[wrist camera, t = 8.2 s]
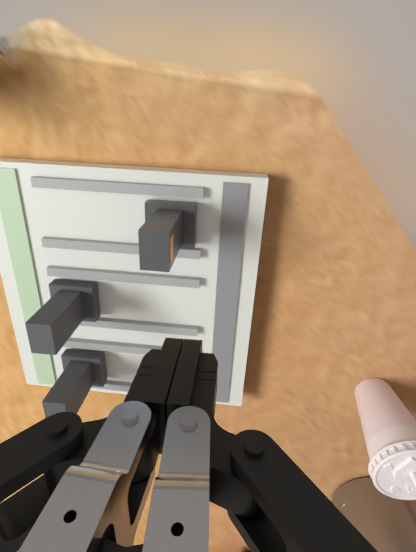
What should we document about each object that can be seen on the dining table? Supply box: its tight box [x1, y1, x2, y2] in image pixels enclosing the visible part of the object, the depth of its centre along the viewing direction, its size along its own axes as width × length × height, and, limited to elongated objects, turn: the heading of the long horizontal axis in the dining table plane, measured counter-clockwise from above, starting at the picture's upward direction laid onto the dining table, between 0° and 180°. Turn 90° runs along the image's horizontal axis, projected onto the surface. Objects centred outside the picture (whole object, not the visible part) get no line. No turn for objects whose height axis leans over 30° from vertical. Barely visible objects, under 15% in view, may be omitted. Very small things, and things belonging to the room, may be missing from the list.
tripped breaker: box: [138, 199, 197, 272], centre depth 25 cm, size 4×4×7 cm
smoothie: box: [354, 378, 416, 500], centre depth 31 cm, size 6×6×14 cm
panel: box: [0, 158, 269, 418], centre depth 30 cm, size 24×24×9 cm
